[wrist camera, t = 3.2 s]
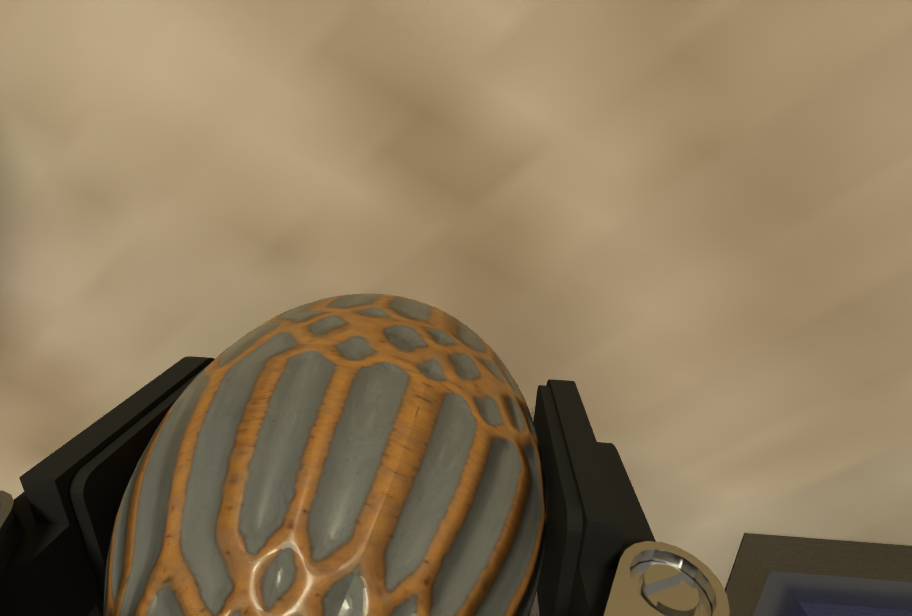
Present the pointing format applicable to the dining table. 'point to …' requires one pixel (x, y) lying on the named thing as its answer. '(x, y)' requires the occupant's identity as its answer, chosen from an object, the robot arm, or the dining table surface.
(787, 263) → the dining table surface
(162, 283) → the dining table surface
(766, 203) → the dining table surface
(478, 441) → the vase
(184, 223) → the dining table surface
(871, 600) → the ink pad
